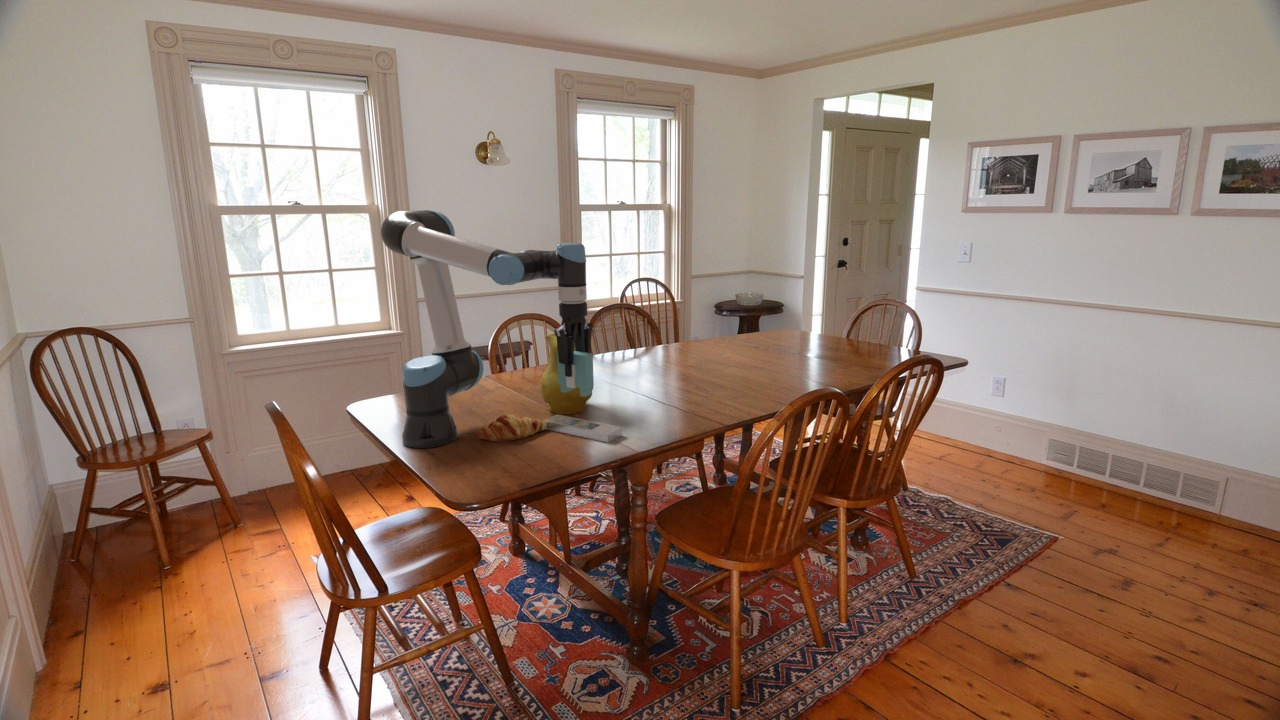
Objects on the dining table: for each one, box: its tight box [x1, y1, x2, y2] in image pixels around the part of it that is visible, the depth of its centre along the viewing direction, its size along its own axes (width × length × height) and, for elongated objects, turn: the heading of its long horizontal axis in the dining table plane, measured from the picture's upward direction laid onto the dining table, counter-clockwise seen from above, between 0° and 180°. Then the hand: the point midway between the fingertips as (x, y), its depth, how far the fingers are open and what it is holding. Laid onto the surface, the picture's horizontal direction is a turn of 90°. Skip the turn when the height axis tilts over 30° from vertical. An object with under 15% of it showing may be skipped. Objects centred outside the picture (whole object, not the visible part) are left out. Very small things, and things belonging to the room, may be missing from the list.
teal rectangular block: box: [557, 351, 595, 397], centre depth 179 cm, size 3×10×12 cm, turn 55°
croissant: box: [474, 414, 547, 442], centre depth 189 cm, size 21×10×8 cm, turn 118°
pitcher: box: [540, 332, 594, 415], centre depth 212 cm, size 17×19×25 cm
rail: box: [541, 413, 623, 444], centre depth 191 cm, size 7×24×2 cm, turn 58°
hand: (575, 385), depth 180 cm, fingers closed on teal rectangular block, 3 cm apart
